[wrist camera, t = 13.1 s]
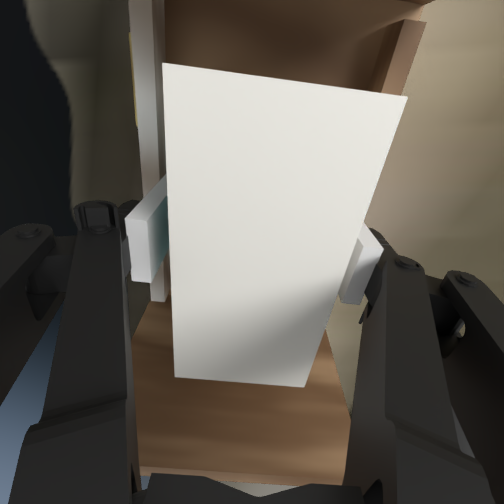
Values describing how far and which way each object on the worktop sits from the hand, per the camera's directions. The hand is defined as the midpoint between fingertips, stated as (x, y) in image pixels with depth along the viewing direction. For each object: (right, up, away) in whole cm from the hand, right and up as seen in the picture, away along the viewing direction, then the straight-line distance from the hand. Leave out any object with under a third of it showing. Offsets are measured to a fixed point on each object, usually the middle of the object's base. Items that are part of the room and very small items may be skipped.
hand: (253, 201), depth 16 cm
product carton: (0, +1, +2) cm, 3 cm away
